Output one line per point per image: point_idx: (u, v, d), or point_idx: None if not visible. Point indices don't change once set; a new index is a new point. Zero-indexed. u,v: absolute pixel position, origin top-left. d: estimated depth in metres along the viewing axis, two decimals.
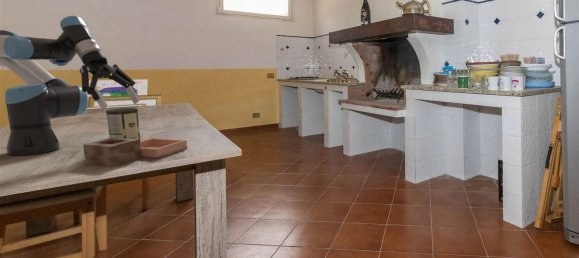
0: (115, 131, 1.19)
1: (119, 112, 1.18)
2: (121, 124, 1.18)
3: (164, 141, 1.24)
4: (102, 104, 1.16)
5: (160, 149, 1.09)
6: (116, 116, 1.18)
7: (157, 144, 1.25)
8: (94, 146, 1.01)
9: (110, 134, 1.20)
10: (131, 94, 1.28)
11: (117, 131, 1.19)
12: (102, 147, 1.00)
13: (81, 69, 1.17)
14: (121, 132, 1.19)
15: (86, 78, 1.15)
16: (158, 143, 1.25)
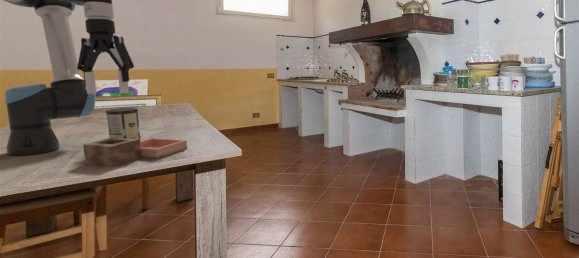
0: (115, 131, 1.19)
1: (119, 112, 1.18)
2: (121, 124, 1.18)
3: (164, 141, 1.24)
4: None
5: (160, 149, 1.09)
6: (116, 116, 1.18)
7: (157, 144, 1.25)
8: (94, 146, 1.01)
9: (110, 134, 1.20)
10: None
11: (117, 131, 1.19)
12: (102, 147, 1.00)
13: None
14: (121, 132, 1.19)
15: (80, 56, 1.03)
16: (158, 143, 1.25)
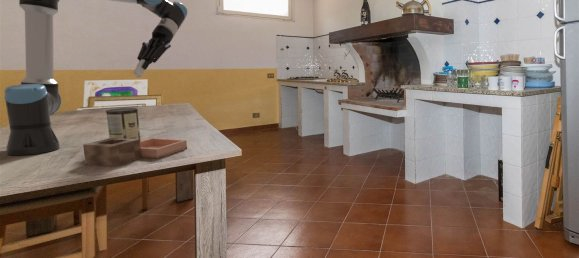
0: (115, 131, 1.19)
1: (119, 112, 1.18)
2: (121, 124, 1.18)
3: (164, 141, 1.24)
4: None
5: (160, 149, 1.09)
6: (116, 116, 1.18)
7: (157, 144, 1.25)
8: (94, 146, 1.01)
9: (110, 134, 1.20)
10: None
11: (117, 131, 1.19)
12: (102, 147, 1.00)
13: None
14: (121, 132, 1.19)
15: (140, 51, 1.34)
16: (158, 143, 1.25)
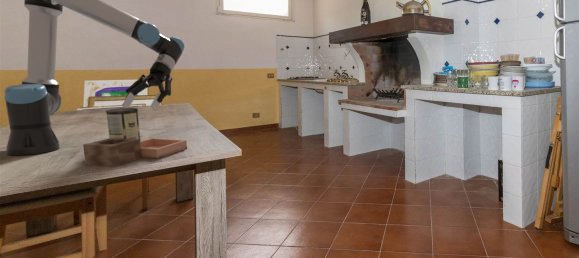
0: (115, 131, 1.19)
1: (119, 112, 1.18)
2: (121, 124, 1.18)
3: (164, 141, 1.24)
4: None
5: (160, 149, 1.09)
6: (116, 116, 1.18)
7: (157, 144, 1.25)
8: (94, 146, 1.01)
9: (110, 134, 1.20)
10: None
11: (117, 131, 1.19)
12: (102, 147, 1.00)
13: None
14: (121, 132, 1.19)
15: (133, 84, 1.37)
16: (158, 143, 1.25)
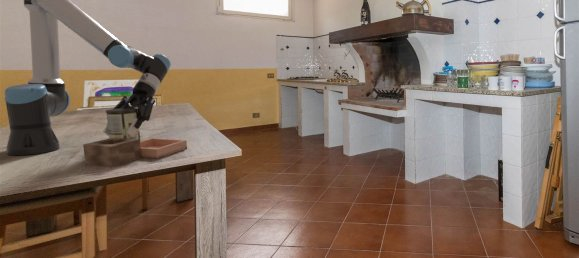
0: (115, 131, 1.19)
1: (119, 112, 1.18)
2: (121, 124, 1.18)
3: (164, 141, 1.24)
4: None
5: (160, 149, 1.09)
6: (116, 116, 1.18)
7: (157, 144, 1.25)
8: (94, 146, 1.01)
9: (110, 134, 1.20)
10: None
11: (117, 131, 1.19)
12: (102, 147, 1.00)
13: None
14: (121, 132, 1.19)
15: (115, 107, 1.29)
16: (158, 143, 1.25)
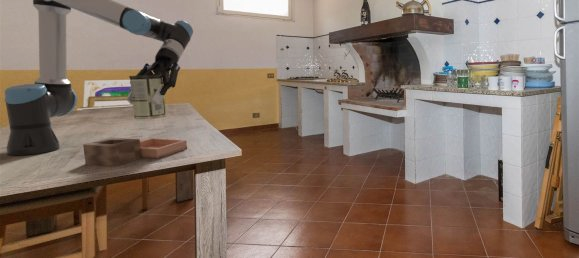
0: (140, 97, 1.11)
1: (144, 77, 1.10)
2: (146, 90, 1.11)
3: (164, 141, 1.24)
4: None
5: (160, 149, 1.09)
6: (140, 81, 1.10)
7: (157, 144, 1.25)
8: (94, 146, 1.01)
9: (134, 101, 1.12)
10: None
11: (142, 98, 1.11)
12: (102, 147, 1.00)
13: None
14: (146, 98, 1.11)
15: (137, 74, 1.21)
16: (158, 143, 1.25)
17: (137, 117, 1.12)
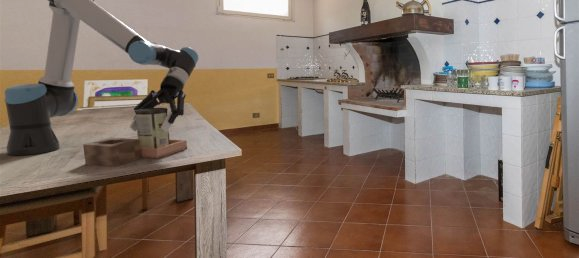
0: (145, 132, 1.12)
1: (149, 112, 1.11)
2: (151, 125, 1.11)
3: None
4: None
5: (160, 149, 1.09)
6: (146, 116, 1.11)
7: None
8: (94, 146, 1.01)
9: (139, 135, 1.13)
10: None
11: (147, 132, 1.12)
12: (102, 147, 1.00)
13: None
14: (151, 133, 1.12)
15: (142, 101, 1.22)
16: None
17: None
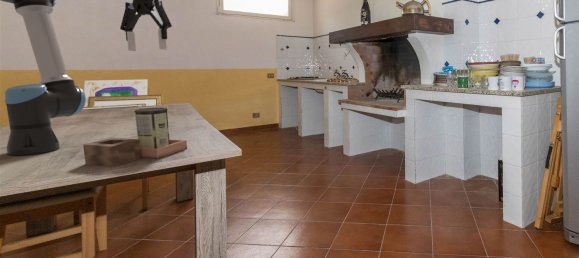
0: (145, 132, 1.12)
1: (149, 112, 1.11)
2: (151, 125, 1.11)
3: None
4: None
5: (160, 149, 1.09)
6: (146, 116, 1.11)
7: None
8: (94, 146, 1.01)
9: (139, 135, 1.13)
10: None
11: (147, 132, 1.12)
12: (102, 147, 1.00)
13: None
14: (151, 133, 1.12)
15: (123, 18, 1.20)
16: None
17: None
